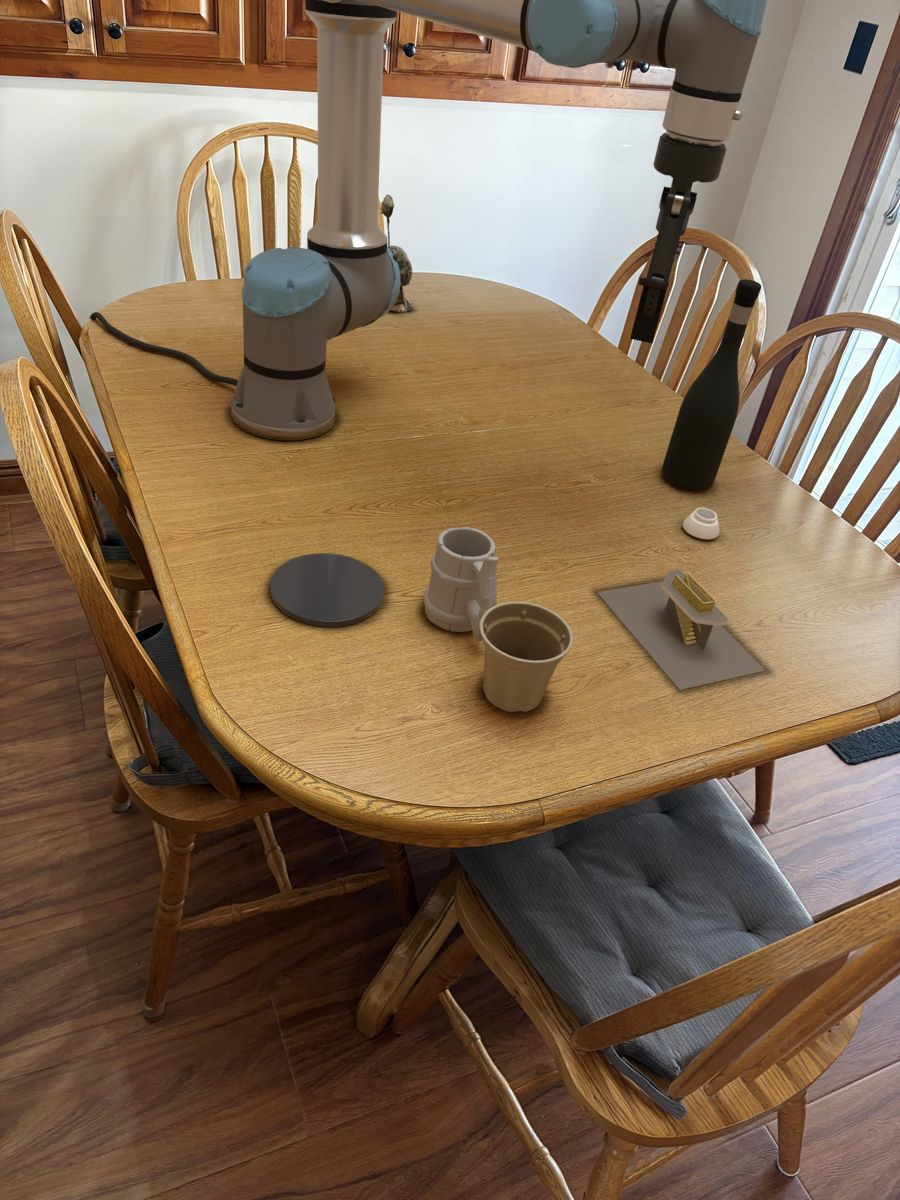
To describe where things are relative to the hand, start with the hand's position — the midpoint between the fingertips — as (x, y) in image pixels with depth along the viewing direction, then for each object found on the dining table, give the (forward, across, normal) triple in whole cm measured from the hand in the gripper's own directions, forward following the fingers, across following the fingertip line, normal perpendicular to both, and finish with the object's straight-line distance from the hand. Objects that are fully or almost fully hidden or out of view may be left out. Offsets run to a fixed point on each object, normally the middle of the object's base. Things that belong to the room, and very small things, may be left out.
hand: (645, 321), depth 117 cm
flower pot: (+26, -44, +4) cm, 52 cm away
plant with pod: (+26, +55, +48) cm, 77 cm away
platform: (+26, -26, -13) cm, 39 cm away
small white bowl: (+26, -2, -14) cm, 30 cm away
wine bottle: (+26, +12, -12) cm, 31 cm away
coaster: (+26, -36, +28) cm, 52 cm away
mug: (+26, -35, +12) cm, 45 cm away
